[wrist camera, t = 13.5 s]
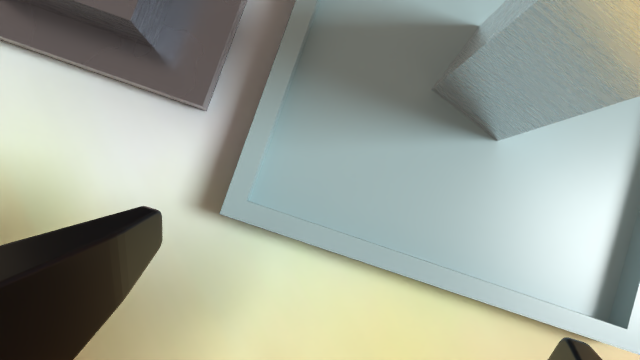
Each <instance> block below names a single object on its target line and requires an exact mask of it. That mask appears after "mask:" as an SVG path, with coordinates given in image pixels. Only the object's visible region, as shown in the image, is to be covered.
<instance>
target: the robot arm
mask: <svg viewBox="0 0 640 360" xmlns="http://www.w3.org/2000/svg"><path fill="white" fill-rule="evenodd" d="M161 243H162V215H161V212H160V211H158V210H156V209H153V208H150V207H146V206H141V207H138V208H134V209H131V210H127V211H123V212H120V213H116V214H112V215H109V216H105V217H102V218H98V219H94V220H91V221H87V222H84V223H80V224H76V225H73V226H69V227H66V228H62V229H58V230H55V231H51V232H48V233H44V234H40V235H37V236H33V237H29V238H26V239H22V240H19V241H15V242H11V243H8V244H4V245H1V246H0V360H73V359H74V358H75V357H76V356H77V355H78V354H79V352H80V351H81V350H82V349H83V348H84V346H85V345H86V344H87V343H88V342H89V341H90V339H91V338H92V337H93V336H94V335H95V334H96V332H97V331H98V330H99V329H100V328H101V327H102V325H103V324H104V323H105V322H106V321H107V319H108V318H109V317H110V316H111V315H112V314H113V312H114V311H115V310H116V309H117V308H118V306H119V305H120V304H121V303H122V301H123V300H124V299H125V297H126V296H127V295H128V293H129V292H130V291H131V289H132V288H133V286H134V285H135V283H136V282H137V280H138V279H139V277H140V276H141V275H142V273H143V272H144V270H145V269H146V267H147V266H148V264H149V263H150V261H151V260H152V258H153V257H154V256H155V254H156V253H157V251H158V250H159V248H160V246H161ZM548 360H602V359H601V358H600V357H599V355H598V354H597V353H596V352H595V351H594V350H593V349H592V348H591V347H590V346H589V345H588V344H586V343H584V342H581V341H578V340H575V339H571V338H563V339H562V340H561V341H560V342H559V343H558V345H557V346H556V348H555V350H554V351H553V353H552V354H551V356H550V357H549V359H548Z"/></svg>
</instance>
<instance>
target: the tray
mask: <svg viewBox="0 0 640 360" xmlns="http://www.w3.org/2000/svg"><path fill="white" fill-rule="evenodd" d="M505 1H506V0H296V1H295V4H294V7H293V10H292V13H291V15H290V18H289V21H288V24H287V27H286V29H285V32H284V35H283V38H282V41H281V43H280V46H279V49H278V52H277V55H276V57H275V60H274V63H273V66H272V69H271V71H270V74H269V77H268V80H267V83H266V85H265V88H264V91H263V94H262V97H261V99H260V102H259V105H258V108H257V110H256V113H255V116H254V119H253V122H252V124H251V127H250V130H249V133H248V136H247V138H246V141H245V144H244V147H243V150H242V152H241V155H240V158H239V161H238V164H237V166H236V169H235V172H234V175H233V178H232V180H231V183H230V186H229V189H228V192H227V194H226V197H225V200H224V203H223V206H222V208H221V211H220V214H221V215H224V216H227V217H230V218H233V219H236V220H239V221H242V222H245V223H248V224H251V225H254V226H257V227H260V228H263V229H266V230H269V231H272V232H275V233H278V234H281V235H284V236H287V237H290V238H293V239H296V240H299V241H301V242H304V243H307V244H310V245H313V246H316V247H319V248H322V249H325V250H328V251H331V252H334V253H337V254H340V255H343V256H346V257H349V258H352V259H355V260H358V261H361V262H364V263H367V264H370V265H373V266H376V267H379V268H382V269H385V270H388V271H391V272H394V273H397V274H400V275H403V276H406V277H409V278H412V279H415V280H418V281H421V282H424V283H427V284H430V285H433V286H436V287H439V288H442V289H445V290H448V291H450V292H453V293H456V294H459V295H462V296H465V297H468V298H471V299H474V300H477V301H480V302H483V303H486V304H489V305H492V306H495V307H498V308H501V309H504V310H507V311H510V312H513V313H516V314H519V315H522V316H525V317H528V318H531V319H534V320H537V321H540V322H543V323H546V324H549V325H552V326H555V327H558V328H561V329H564V330H567V331H570V332H573V333H576V334H579V335H582V336H585V337H588V338H591V339H594V340H597V341H599V342H602V343H605V344H608V345H611V346H614V347H617V348H620V349H623V350H626V351H629V352H632V353H635V354H638V355H640V96H638V97H635V98H632V99H629V100H626V101H623V102H619V103H616V104H613V105H610V106H607V107H604V108H600V109H597V110H594V111H591V112H588V113H585V114H582V115H578V116H575V117H572V118H569V119H566V120H563V121H559V122H556V123H553V124H550V125H547V126H544V127H540V128H537V129H534V130H531V131H528V132H525V133H522V134H518V135H515V136H512V137H509V138H506V139H503V140H499V141H497V140H495V139H494V138H493V137H492V136H490V135H489V134H488V133H487V132H485V131H484V130H483V129H481V128H480V127H479V126H478V125H476V124H475V123H474V122H472V121H471V120H470V119H469V118H467V117H466V116H465V115H463V114H462V113H461V112H460V111H458V110H457V109H456V108H454V107H453V106H452V105H451V104H449V103H448V102H447V101H445V100H444V99H443V98H442V97H440V96H439V95H438V94H436V93H435V92H434V91H433V90H431V89H432V88H433V87H434V85H435V84H436V83H437V81H438V80H439V79H440V78H441V76H442V75H443V74H444V72H445V71H446V70H447V68H448V67H449V66H450V64H451V63H452V62H453V60H454V59H455V58H456V56H457V55H458V54H459V52H460V51H461V50H462V48H463V47H464V46H465V44H466V43H467V42H468V41H469V39H470V38H471V37H472V35H473V34H474V33H475V31H476V30H477V29H478V27H479V26H480V25H481V24H482V23H483V22H484V21H485V20H486V19H487V18H488V17H489V16H490V15H491V14H492V13H494V12H495V11H496V10H497V9H498V8H499V7H500V6H501V5H502V4H503V3H504V2H505Z"/></svg>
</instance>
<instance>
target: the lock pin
mask: <svg viewBox="0 0 640 360" xmlns="http://www.w3.org/2000/svg"><path fill="white" fill-rule="evenodd" d="M431 90H433V91H434V92H435V93H436V94H438V95H439V96H440V97H442V98H443V99H444V100H445V101H447V102H448V103H449V104H451V105H452V106H453V107H454V108H456V109H457V110H458V111H460V112H461V113H462V114H463V115H465V116H466V117H467V118H469V119H470V120H471V121H472V122H474V123H475V124H476V125H478V126H479V127H480V128H481V129H483V130H484V131H485V132H487V133H488V134H489V135H490V136H492V137H493V138H494V139H495V140H497V141H499V140H503V139H506V138H509V137H512V136H515V135H518V134H522V133H525V132H528V131H531V130H534V129H537V128H540V127H544V126H547V125H550V124H553V123H556V122H559V121H563V120H566V119H569V118H572V117H575V116H578V115H582V114H585V113H588V112H591V111H594V110H597V109H600V108H604V107H607V106H610V105H613V104H616V103H619V102H623V101H626V100H629V99H632V98H635V97H638V96H640V0H506V1H505V2H504V3H503V4H502V5H501V6H500V7H499V8H498V9H497V10H496V11H495V12H494V13H492V14H491V15H490V16H489V17H488V18H487V19H486V20H485V21H484V22H483V23H482V24H481V25H480V26H479V27H478V29H477V30H476V31H475V33H474V34H473V35H472V37H471V38H470V39H469V41H468V42H467V43H466V44H465V46H464V47H463V48H462V50H461V51H460V52H459V54H458V55H457V56H456V58H455V59H454V60H453V62H452V63H451V64H450V66H449V67H448V68H447V70H446V71H445V72H444V74H443V75H442V76H441V78H440V79H439V80H438V81H437V83H436V84H435V85H434V87H433V88H432V89H431Z"/></svg>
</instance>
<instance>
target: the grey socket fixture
mask: <svg viewBox="0 0 640 360" xmlns="http://www.w3.org/2000/svg"><path fill="white" fill-rule="evenodd" d="M246 2H247V0H0V40H3V41H6V42H9V43H12V44H14V45H17V46H20V47H23V48H26V49H29V50H32V51H35V52H37V53H40V54H43V55H46V56H49V57H52V58H55V59H58V60H61V61H63V62H66V63H69V64H72V65H75V66H78V67H81V68H84V69H87V70H89V71H92V72H95V73H98V74H101V75H104V76H107V77H110V78H113V79H115V80H118V81H121V82H124V83H127V84H130V85H133V86H136V87H138V88H141V89H144V90H147V91H150V92H153V93H156V94H159V95H162V96H164V97H167V98H170V99H173V100H176V101H179V102H182V103H185V104H188V105H190V106H193V107H196V108H199V109H202V110H205V111H207V108H208V105H209V103H210V100H211V97H212V95H213V92H214V89H215V86H216V84H217V81H218V78H219V76H220V73H221V70H222V67H223V65H224V62H225V59H226V57H227V54H228V51H229V48H230V46H231V43H232V40H233V38H234V35H235V32H236V29H237V27H238V24H239V21H240V19H241V16H242V13H243V10H244V8H245V5H246Z"/></svg>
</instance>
